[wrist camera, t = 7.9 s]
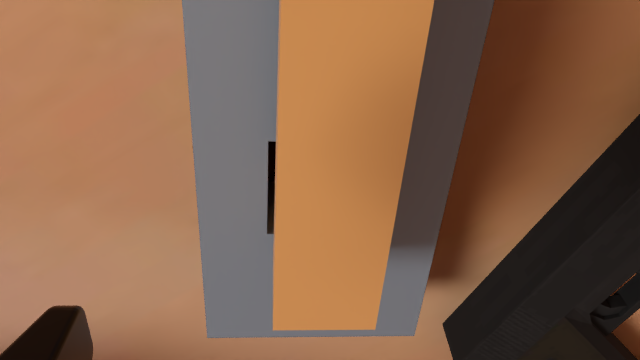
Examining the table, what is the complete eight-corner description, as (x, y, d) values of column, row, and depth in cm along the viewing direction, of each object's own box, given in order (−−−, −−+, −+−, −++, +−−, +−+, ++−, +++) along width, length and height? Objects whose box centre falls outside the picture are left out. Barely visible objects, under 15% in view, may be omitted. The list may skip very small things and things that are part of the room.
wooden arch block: (351, 195, 22) (375, 329, 17) (273, 195, 22) (272, 330, 17) (400, -211, 15) (470, -198, 9) (282, -220, 14) (286, -212, 9)
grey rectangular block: (400, 280, 25) (414, 335, 23) (214, 280, 24) (207, 337, 22) (548, -452, 12) (614, -506, 10) (167, -497, 12) (139, -565, 9)
